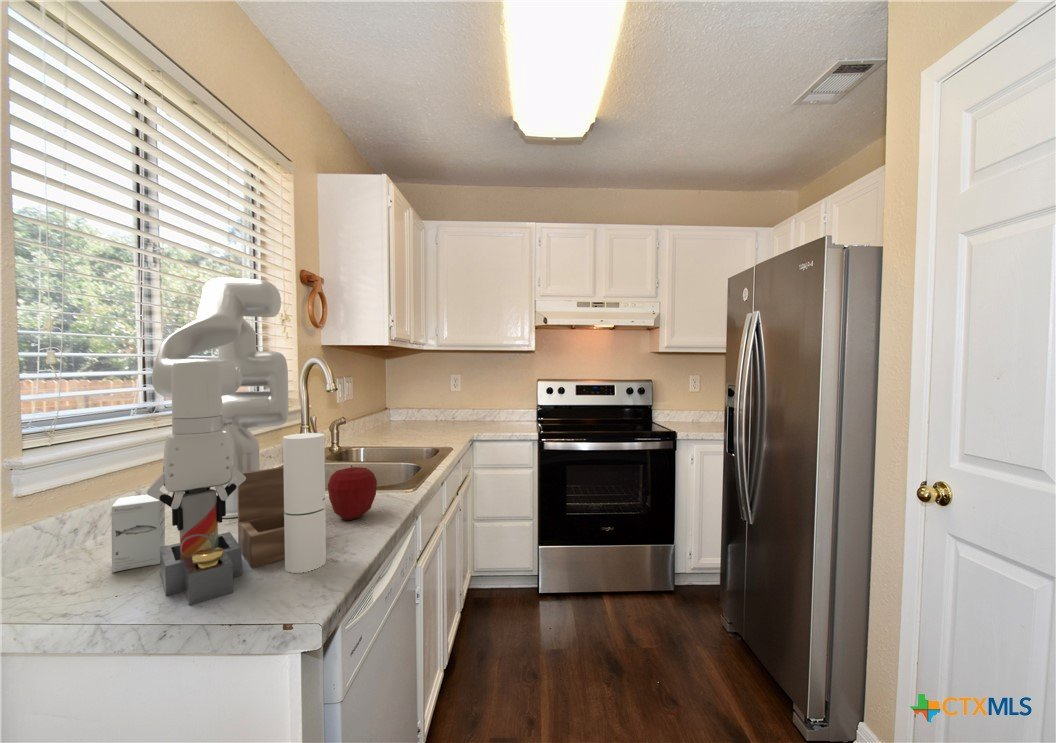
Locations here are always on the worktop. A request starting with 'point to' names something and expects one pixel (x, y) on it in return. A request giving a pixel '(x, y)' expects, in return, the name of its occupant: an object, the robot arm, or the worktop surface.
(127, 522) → the supplement box
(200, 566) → the pin
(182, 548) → the lotion bottle
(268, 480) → the rack
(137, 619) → the worktop surface
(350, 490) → the apple
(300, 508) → the cylindrical container
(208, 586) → the socket
